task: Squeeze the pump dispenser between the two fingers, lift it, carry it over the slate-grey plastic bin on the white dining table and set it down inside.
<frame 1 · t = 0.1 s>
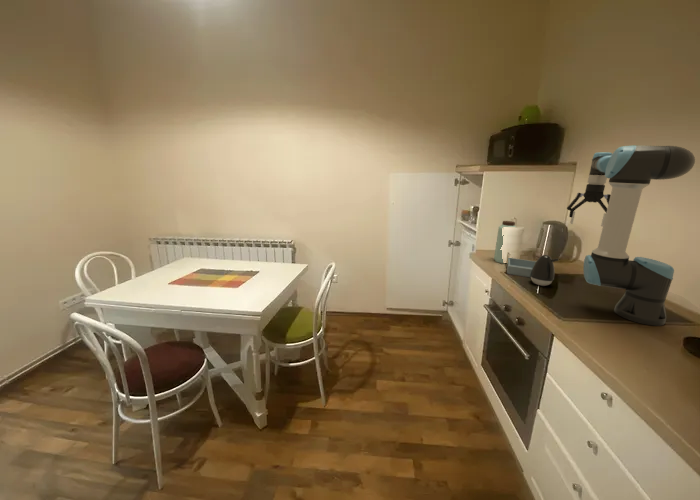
hand: (586, 224, 165), 28 cm above the worktop, fingers open, 13 cm apart
pump dispenser: (540, 284, 157), on the worktop
water bottle: (502, 261, 193), on the worktop
bin: (525, 271, 175), on the worktop
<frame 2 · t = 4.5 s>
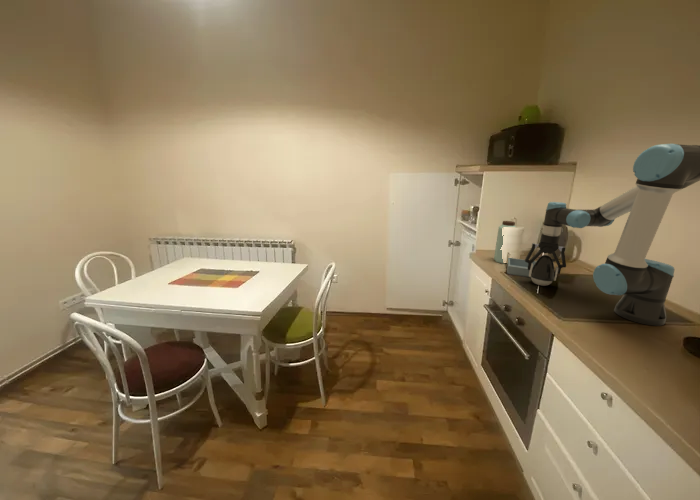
hand: (541, 277, 156), 3 cm above the worktop, fingers closed on pump dispenser, 10 cm apart
pump dispenser: (540, 284, 157), on the worktop, touching gripper
everything else where it was.
when the fingers open (6 cm above the worktop, at t = 11.0 s): pump dispenser drops 2 cm, resting on bin.
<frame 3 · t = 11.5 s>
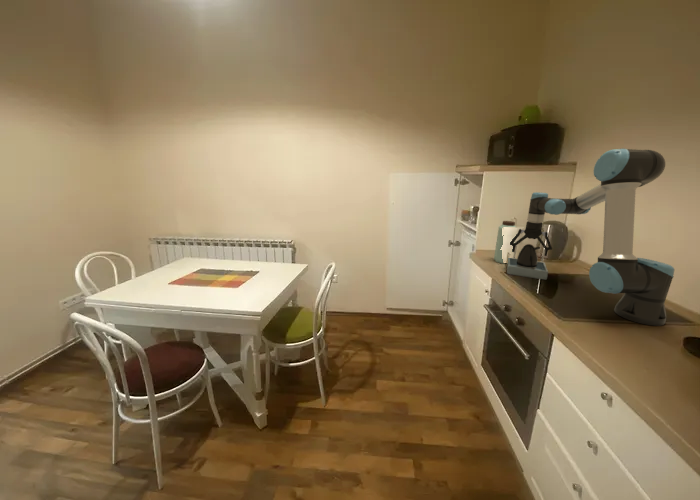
hand: (527, 259, 173), 7 cm above the worktop, fingers open, 13 cm apart
pump dispenser: (526, 270, 175), point 1 cm above the worktop, touching bin
everything else where it was.
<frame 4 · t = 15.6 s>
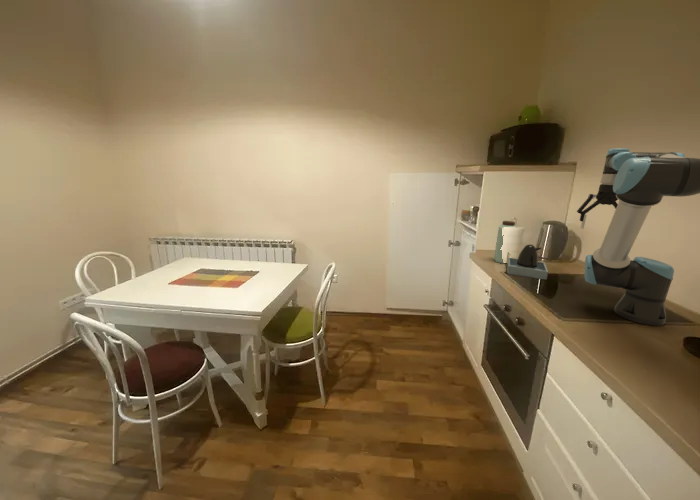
hand: (599, 229, 148), 29 cm above the worktop, fingers open, 13 cm apart
nothing on the worktop moved.
at the end: pump dispenser inside the target area on the bin (0.1 cm from its centre), point 0.4 cm above the bin's base; the gripper is holding nothing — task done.
